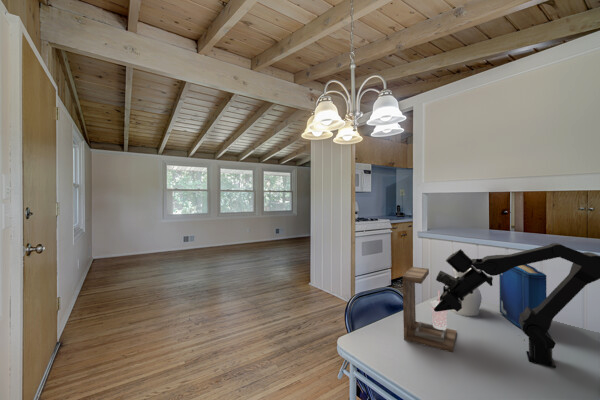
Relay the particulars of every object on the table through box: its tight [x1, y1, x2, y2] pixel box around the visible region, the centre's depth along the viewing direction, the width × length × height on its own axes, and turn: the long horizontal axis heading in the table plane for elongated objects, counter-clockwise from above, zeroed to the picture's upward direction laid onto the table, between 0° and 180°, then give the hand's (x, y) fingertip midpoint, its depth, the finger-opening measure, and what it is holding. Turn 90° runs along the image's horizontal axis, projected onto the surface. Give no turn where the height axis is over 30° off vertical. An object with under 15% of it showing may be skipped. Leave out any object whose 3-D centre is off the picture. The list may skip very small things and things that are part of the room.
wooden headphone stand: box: [402, 266, 457, 353], centre depth 103 cm, size 16×16×24 cm
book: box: [498, 264, 547, 330], centre depth 111 cm, size 22×7×25 cm, turn 168°
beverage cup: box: [429, 289, 448, 330], centre depth 102 cm, size 6×6×14 cm
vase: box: [450, 267, 483, 317], centre depth 126 cm, size 14×14×20 cm
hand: (435, 307), depth 103 cm, fingers closed on beverage cup, 6 cm apart
